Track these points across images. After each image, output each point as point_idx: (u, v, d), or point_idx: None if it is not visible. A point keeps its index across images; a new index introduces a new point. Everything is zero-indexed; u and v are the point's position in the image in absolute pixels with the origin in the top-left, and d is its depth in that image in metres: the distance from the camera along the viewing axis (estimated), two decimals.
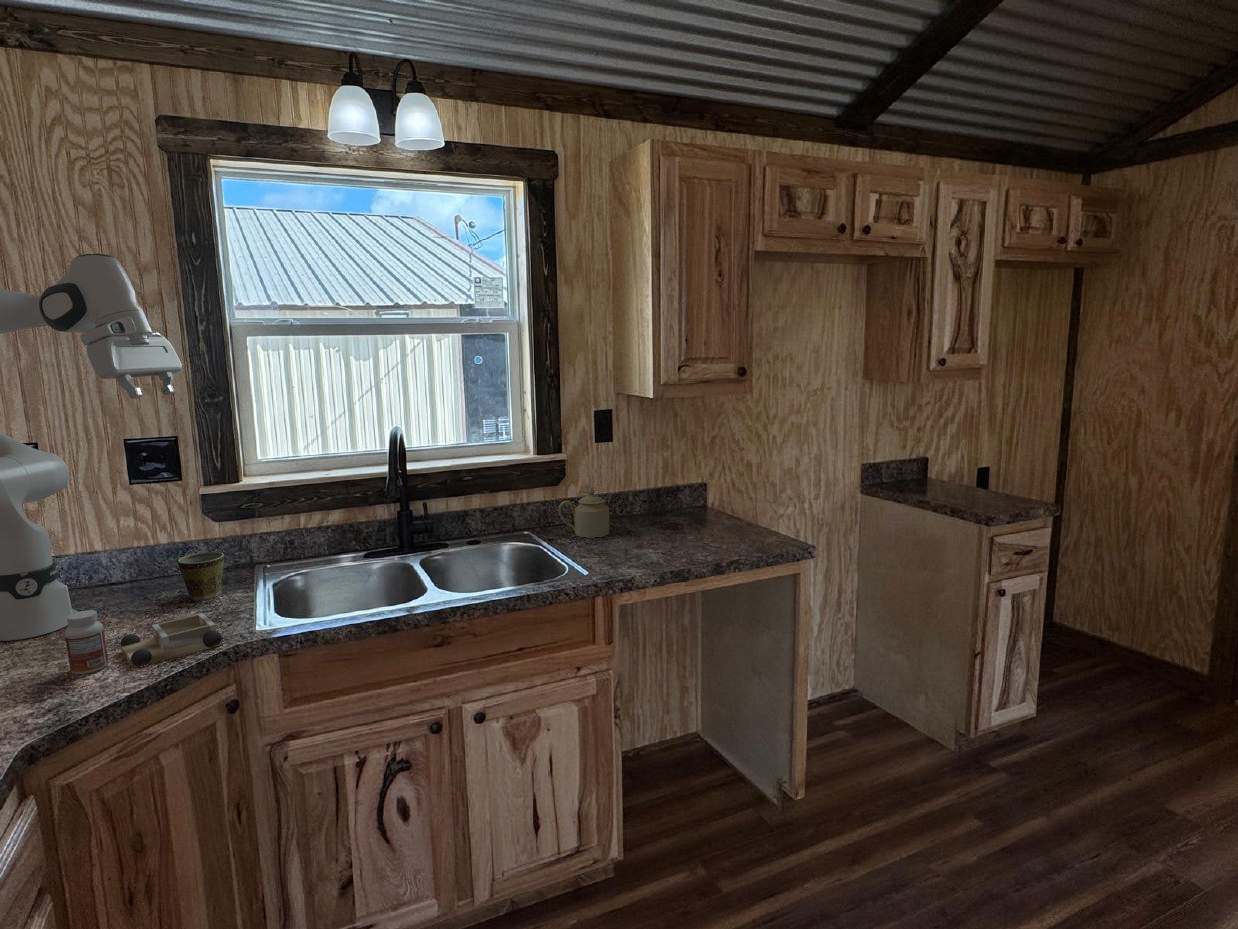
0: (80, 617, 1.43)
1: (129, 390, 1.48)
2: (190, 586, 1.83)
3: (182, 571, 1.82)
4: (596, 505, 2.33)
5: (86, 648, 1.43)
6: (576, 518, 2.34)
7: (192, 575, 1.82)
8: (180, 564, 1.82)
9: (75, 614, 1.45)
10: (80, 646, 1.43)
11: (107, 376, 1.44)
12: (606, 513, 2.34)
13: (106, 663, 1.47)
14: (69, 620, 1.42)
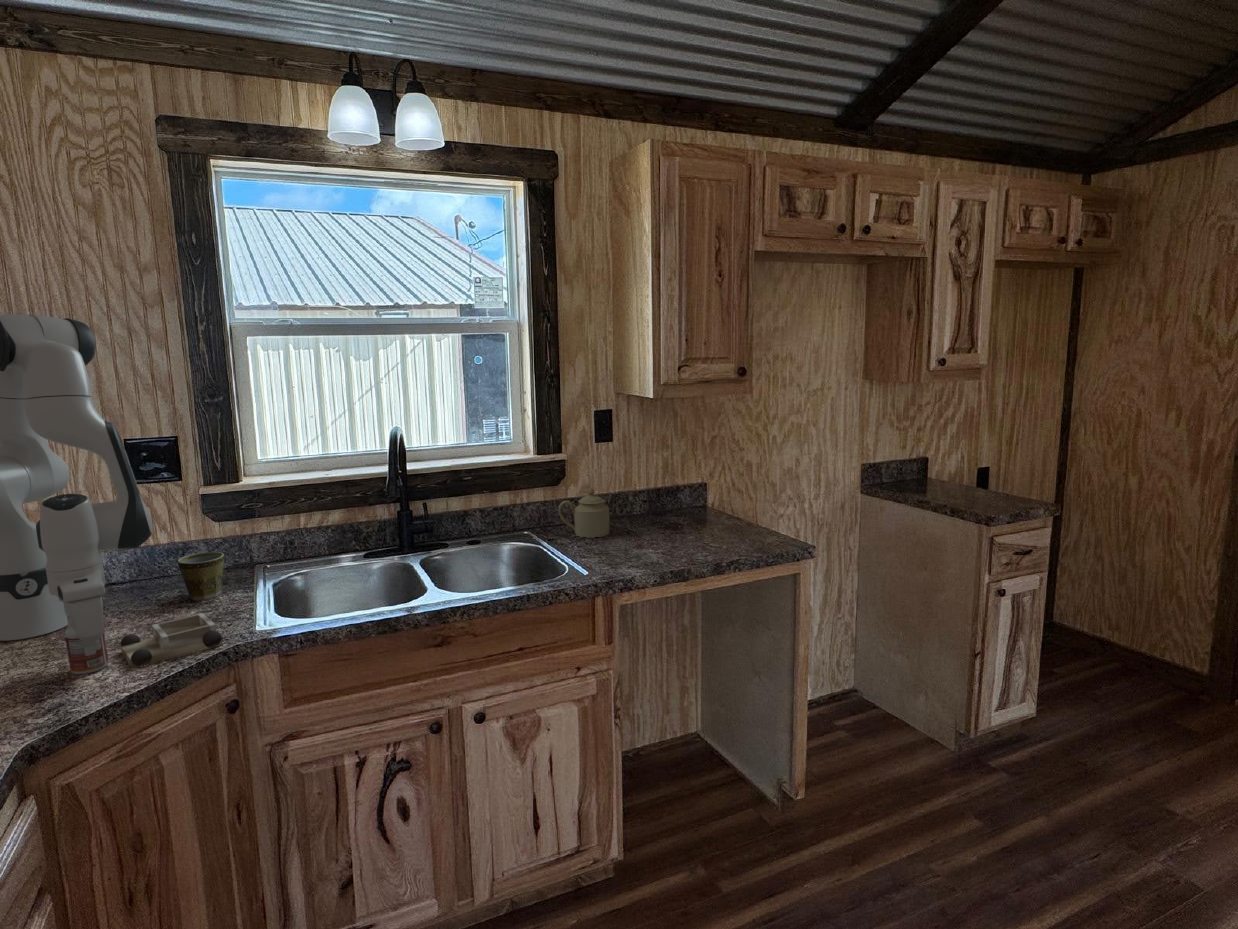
0: None
1: (88, 647, 1.42)
2: (190, 586, 1.83)
3: (182, 571, 1.82)
4: (596, 505, 2.33)
5: None
6: (576, 518, 2.34)
7: (192, 575, 1.82)
8: (180, 564, 1.82)
9: None
10: (80, 646, 1.43)
11: (90, 638, 1.38)
12: (606, 513, 2.34)
13: (106, 663, 1.47)
14: (69, 620, 1.42)
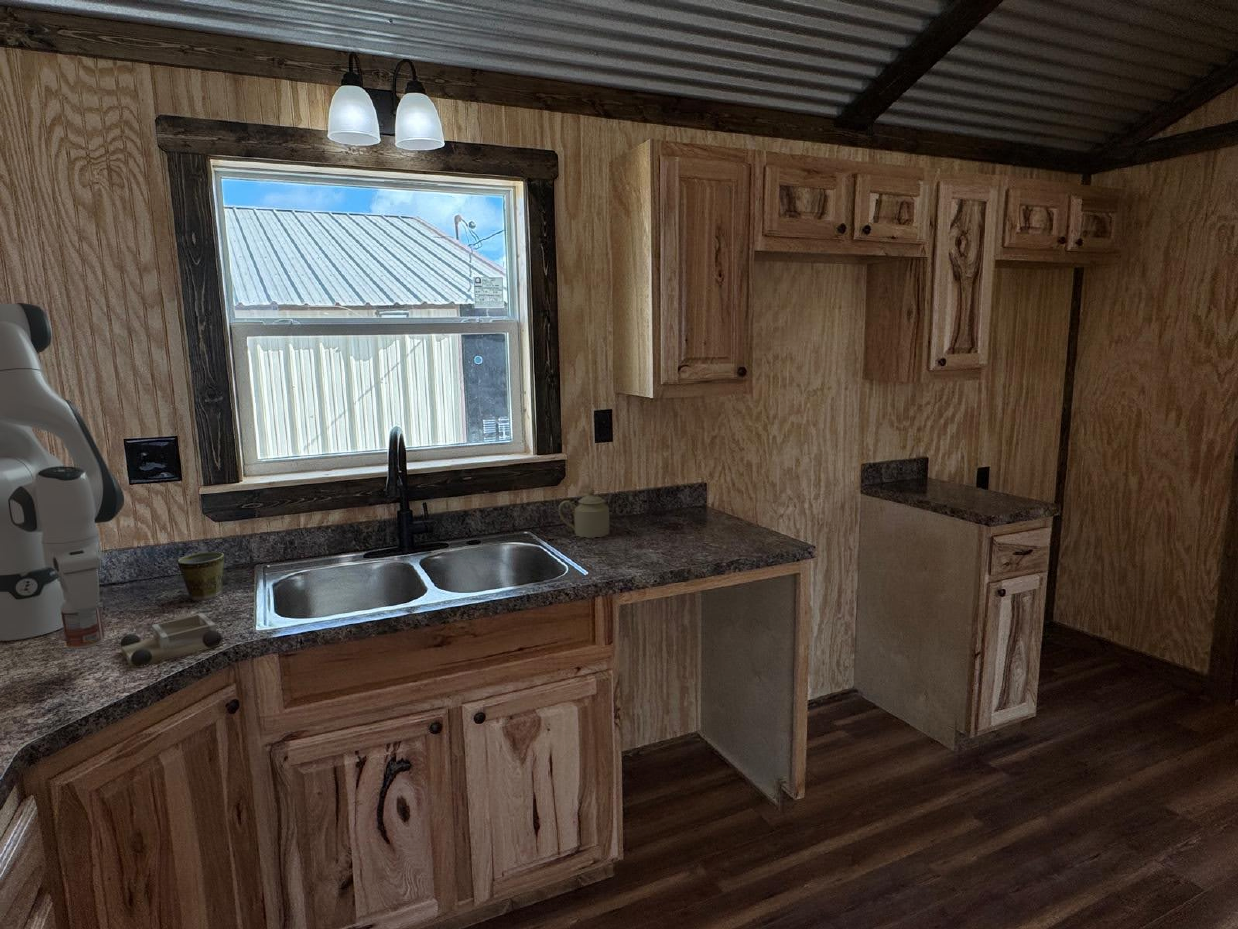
0: None
1: (83, 620, 1.41)
2: (190, 586, 1.83)
3: (182, 571, 1.82)
4: (596, 505, 2.33)
5: None
6: (576, 518, 2.34)
7: (192, 575, 1.82)
8: (180, 564, 1.82)
9: None
10: (76, 621, 1.42)
11: (86, 610, 1.37)
12: (606, 513, 2.34)
13: (102, 638, 1.46)
14: (65, 595, 1.42)
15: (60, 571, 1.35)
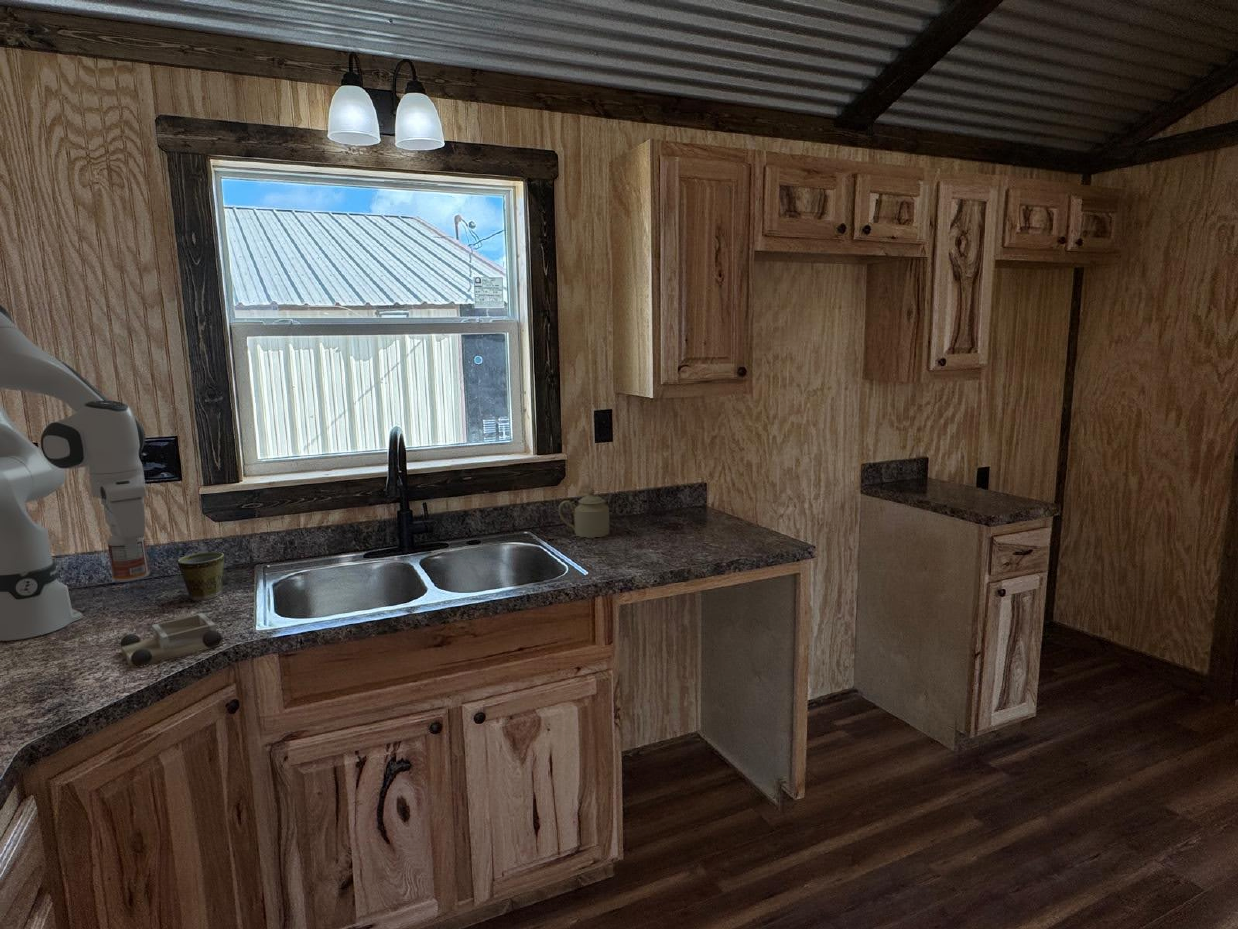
0: None
1: (130, 550, 1.44)
2: (190, 586, 1.83)
3: (182, 571, 1.82)
4: (596, 505, 2.33)
5: None
6: (576, 518, 2.34)
7: (192, 575, 1.82)
8: (180, 564, 1.82)
9: None
10: (122, 553, 1.45)
11: (132, 538, 1.40)
12: (606, 513, 2.34)
13: (147, 572, 1.49)
14: (112, 528, 1.45)
15: (108, 499, 1.38)
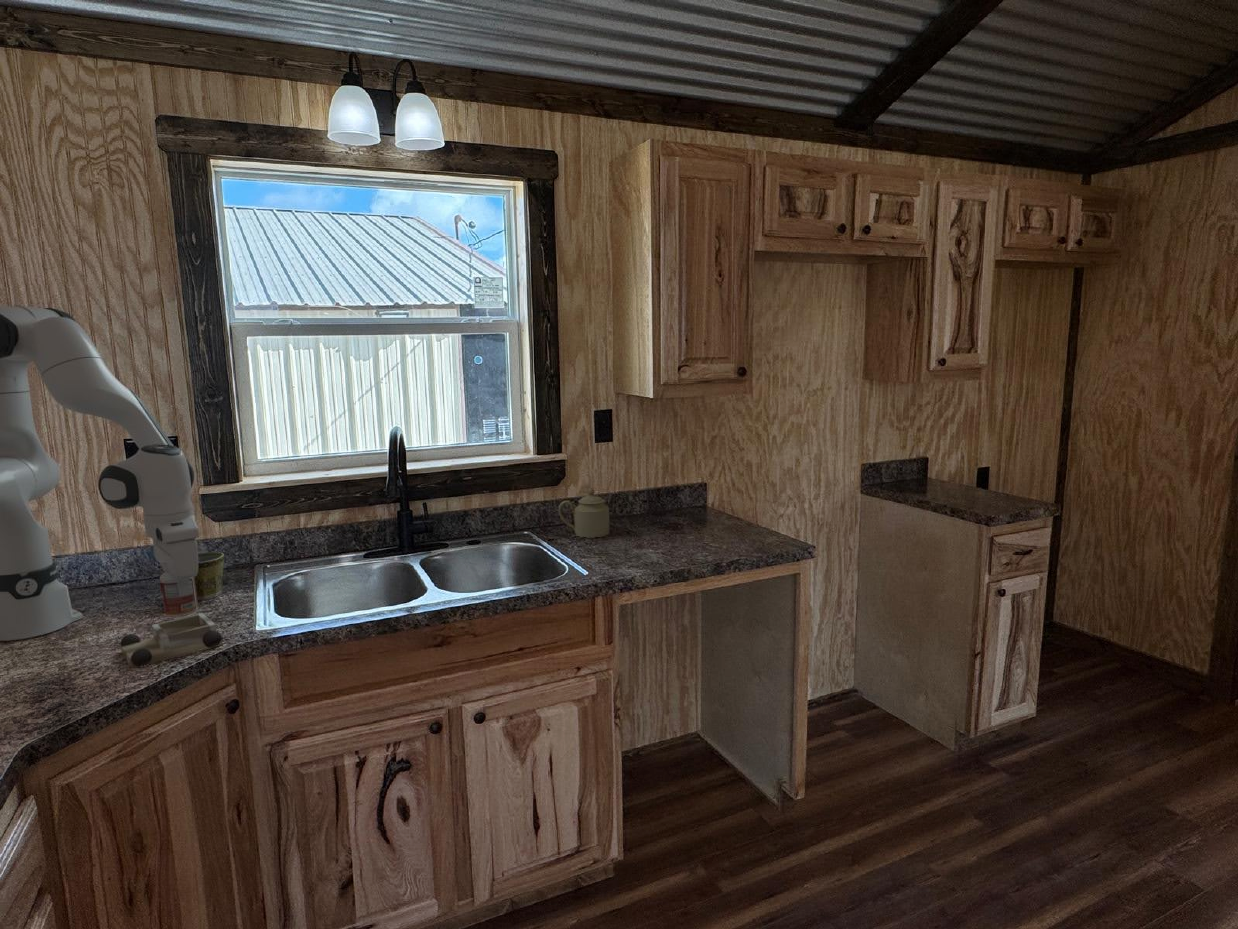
0: None
1: (182, 587, 1.51)
2: None
3: None
4: (596, 505, 2.33)
5: None
6: (576, 518, 2.34)
7: None
8: None
9: None
10: (174, 590, 1.52)
11: (186, 578, 1.47)
12: (606, 513, 2.34)
13: (197, 608, 1.56)
14: (164, 566, 1.52)
15: (164, 540, 1.44)
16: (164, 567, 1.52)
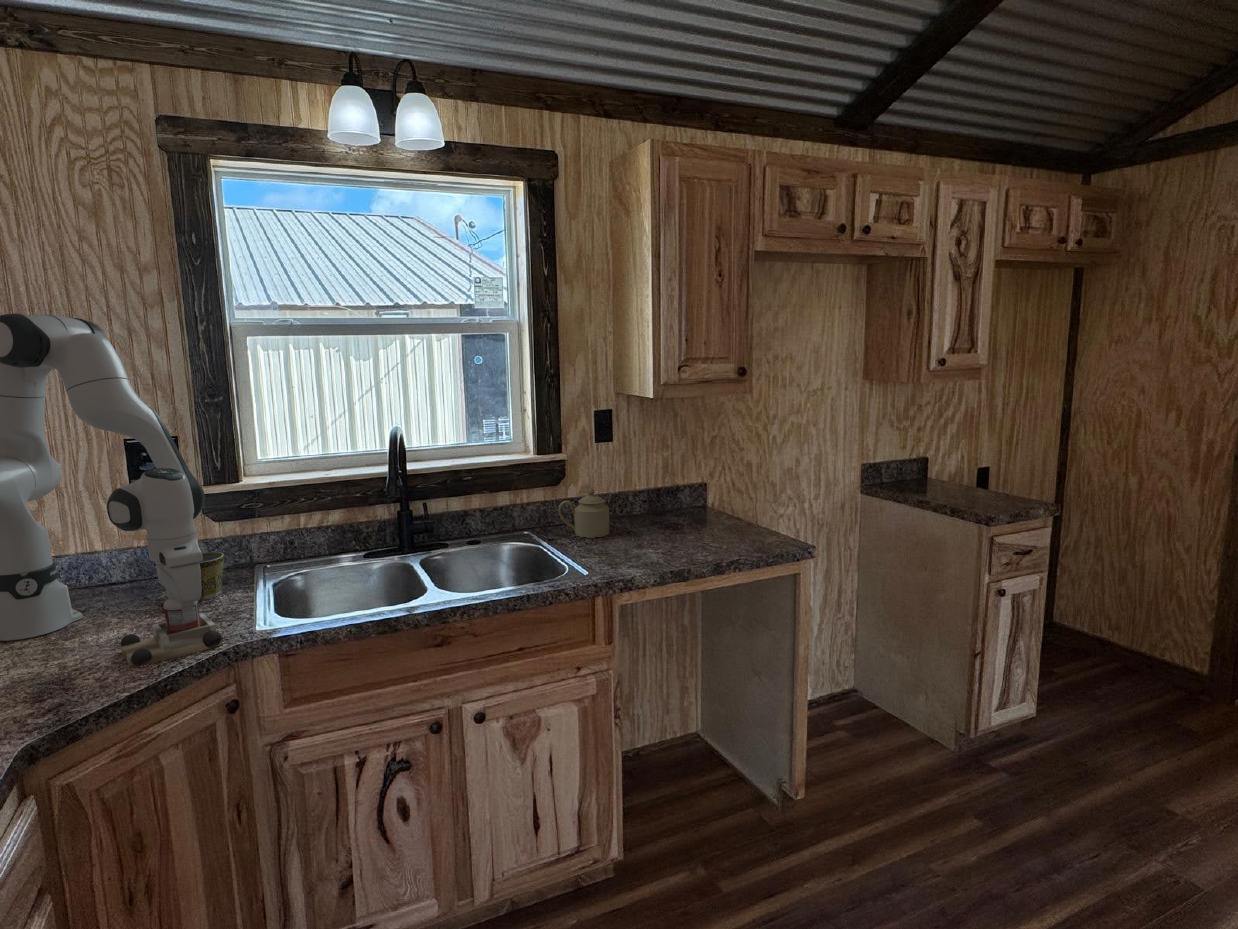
0: None
1: (186, 612, 1.51)
2: None
3: None
4: (596, 505, 2.33)
5: None
6: (576, 518, 2.34)
7: None
8: None
9: None
10: (178, 617, 1.52)
11: (189, 602, 1.48)
12: (606, 513, 2.34)
13: None
14: (168, 593, 1.52)
15: (167, 565, 1.45)
16: (168, 594, 1.52)
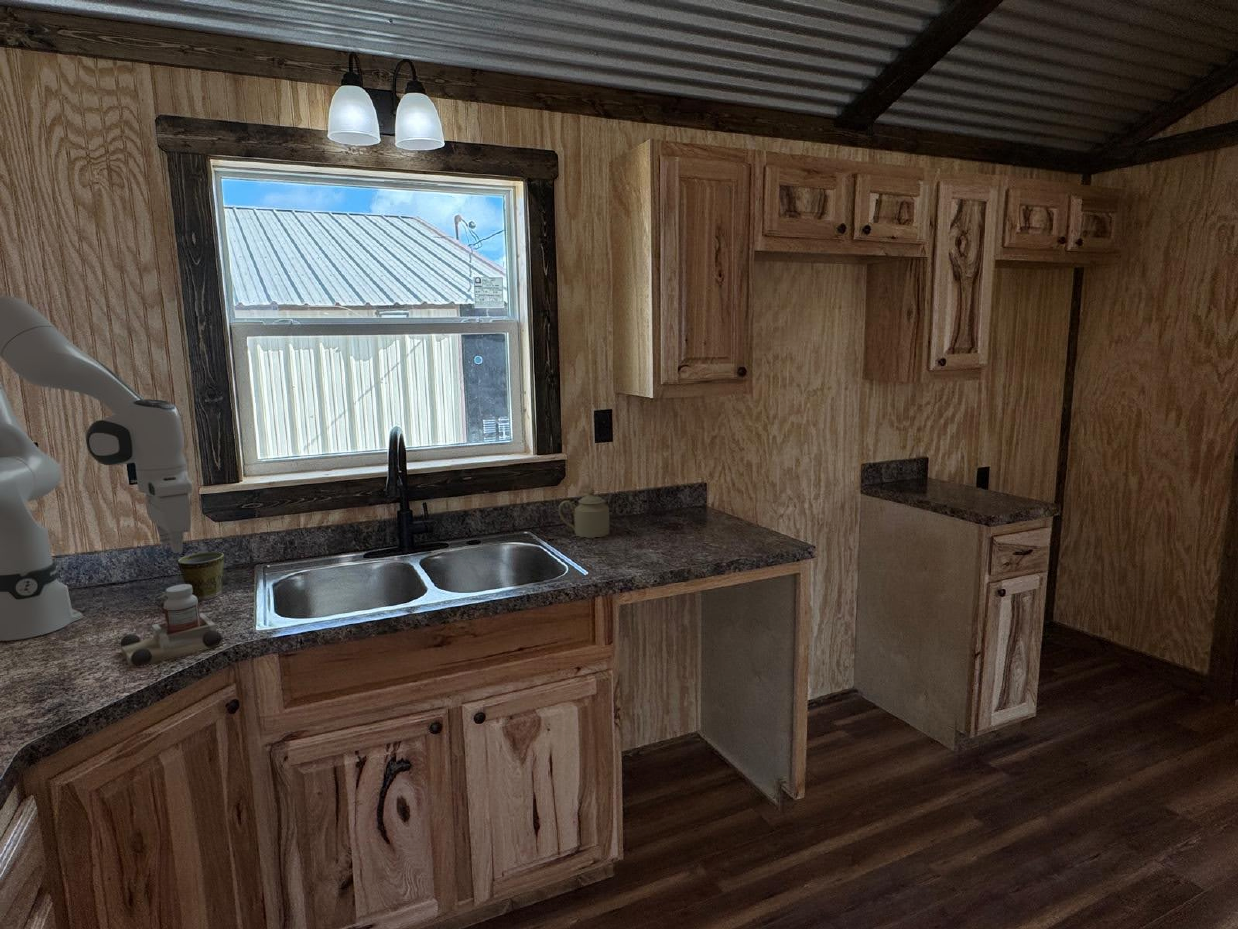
0: (178, 590, 1.53)
1: (175, 544, 1.49)
2: None
3: (182, 571, 1.82)
4: (596, 505, 2.33)
5: (184, 619, 1.53)
6: (576, 518, 2.34)
7: (192, 575, 1.82)
8: (180, 564, 1.82)
9: (172, 587, 1.54)
10: (178, 617, 1.52)
11: (179, 533, 1.45)
12: (606, 513, 2.34)
13: None
14: (168, 593, 1.52)
15: (156, 494, 1.43)
16: (168, 594, 1.52)
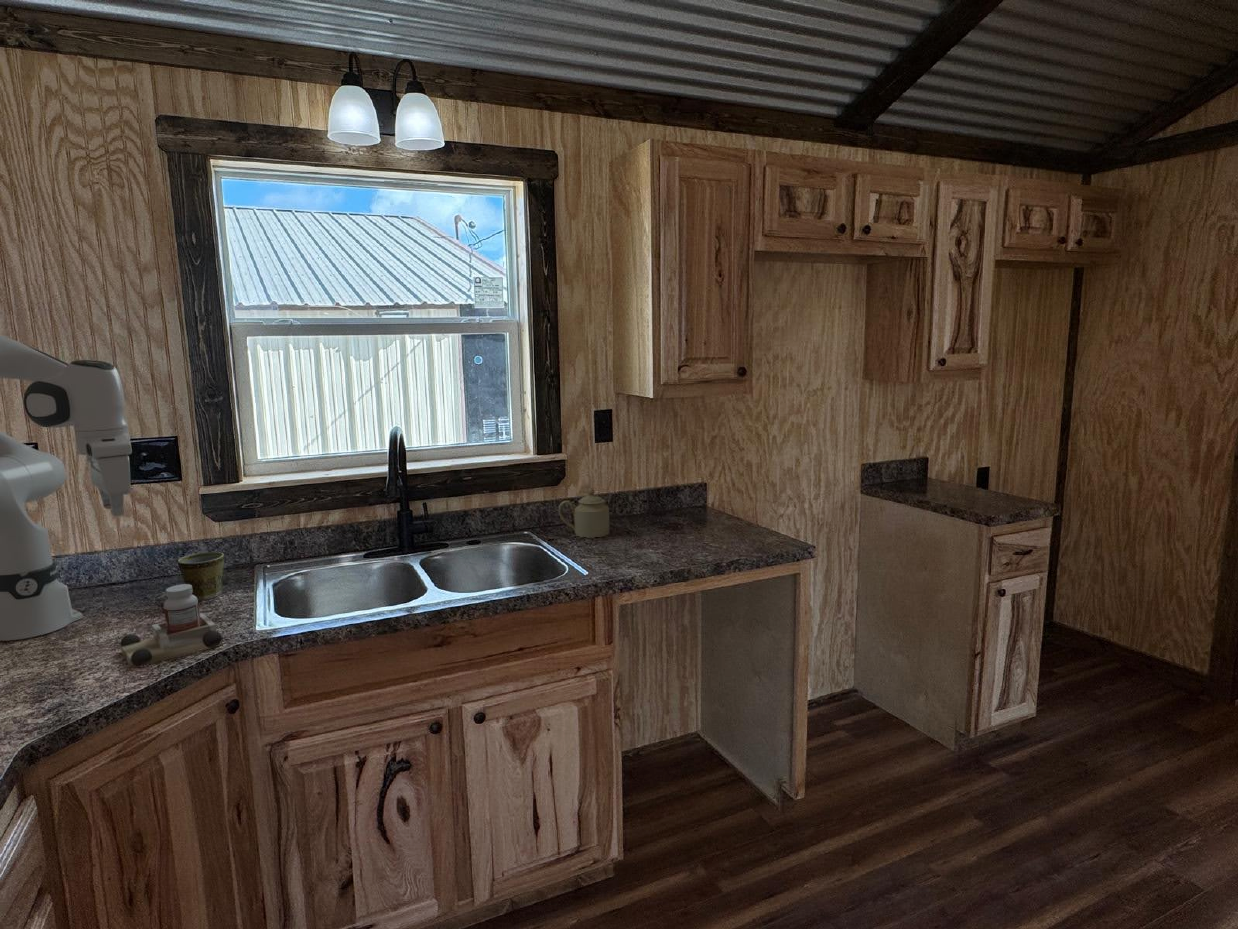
0: (178, 590, 1.53)
1: (116, 507, 1.46)
2: None
3: (182, 571, 1.82)
4: (596, 505, 2.33)
5: (184, 619, 1.53)
6: (576, 518, 2.34)
7: (192, 575, 1.82)
8: (180, 564, 1.82)
9: (172, 587, 1.54)
10: (178, 617, 1.52)
11: (118, 494, 1.43)
12: (606, 513, 2.34)
13: None
14: (168, 593, 1.52)
15: (93, 455, 1.40)
16: (168, 594, 1.52)
